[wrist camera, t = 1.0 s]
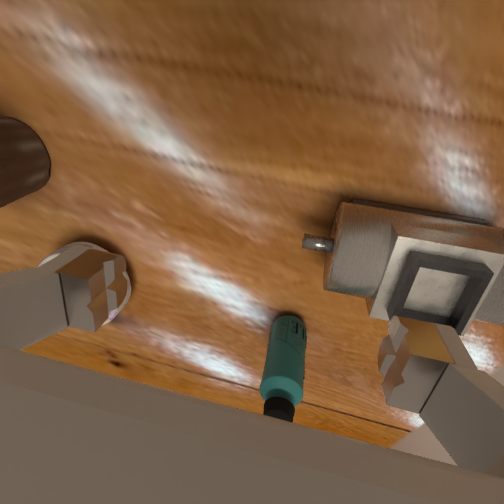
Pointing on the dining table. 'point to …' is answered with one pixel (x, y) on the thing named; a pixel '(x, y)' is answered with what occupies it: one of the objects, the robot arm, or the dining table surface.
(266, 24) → the dining table surface
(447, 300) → the motor
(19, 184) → the plant pot
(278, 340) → the beverage bottle
